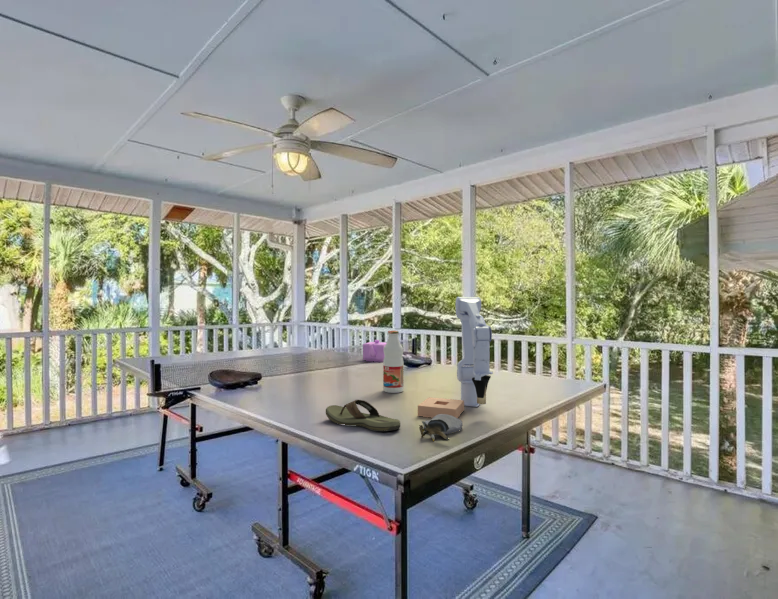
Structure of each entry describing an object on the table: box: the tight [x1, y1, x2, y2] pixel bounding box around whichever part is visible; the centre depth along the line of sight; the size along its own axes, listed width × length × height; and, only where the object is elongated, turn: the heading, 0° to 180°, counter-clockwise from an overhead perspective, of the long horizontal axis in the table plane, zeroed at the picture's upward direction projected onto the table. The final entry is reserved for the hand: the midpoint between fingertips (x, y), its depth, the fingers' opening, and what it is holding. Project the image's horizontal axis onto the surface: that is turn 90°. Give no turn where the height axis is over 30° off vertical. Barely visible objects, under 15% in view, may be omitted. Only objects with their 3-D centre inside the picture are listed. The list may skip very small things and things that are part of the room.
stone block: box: [423, 414, 464, 435], centre depth 145 cm, size 12×5×10 cm
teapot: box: [362, 339, 387, 363], centre depth 298 cm, size 15×25×14 cm, turn 159°
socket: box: [417, 396, 465, 419], centre depth 165 cm, size 14×14×4 cm
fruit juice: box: [382, 330, 405, 394], centre depth 203 cm, size 9×9×28 cm
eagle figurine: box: [418, 419, 449, 442], centre depth 136 cm, size 8×7×9 cm
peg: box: [477, 387, 487, 405], centre depth 159 cm, size 3×3×7 cm
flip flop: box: [325, 399, 401, 432], centre depth 151 cm, size 29×12×8 cm, turn 54°
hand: (481, 396), depth 159 cm, fingers closed on peg, 3 cm apart
